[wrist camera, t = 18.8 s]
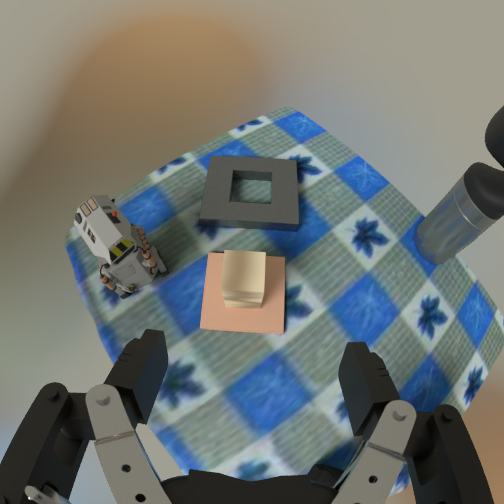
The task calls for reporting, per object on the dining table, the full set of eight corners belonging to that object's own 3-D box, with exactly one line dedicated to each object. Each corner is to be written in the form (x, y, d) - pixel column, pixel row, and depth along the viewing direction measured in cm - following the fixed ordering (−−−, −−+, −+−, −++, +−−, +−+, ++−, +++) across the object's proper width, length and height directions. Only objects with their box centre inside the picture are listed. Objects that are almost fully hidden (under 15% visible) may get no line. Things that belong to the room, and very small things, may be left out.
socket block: (294, 169, 52) (296, 160, 49) (296, 231, 46) (299, 224, 44) (212, 164, 52) (211, 155, 49) (201, 226, 46) (199, 218, 44)
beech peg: (261, 276, 42) (265, 252, 34) (260, 309, 40) (264, 292, 32) (228, 275, 42) (224, 250, 34) (225, 307, 40) (220, 289, 32)
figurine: (148, 227, 46) (117, 172, 32) (174, 282, 42) (142, 237, 28) (105, 251, 44) (61, 205, 30) (126, 308, 40) (76, 276, 26)
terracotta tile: (284, 258, 44) (285, 257, 43) (282, 334, 39) (283, 333, 38) (209, 254, 44) (208, 252, 43) (200, 328, 39) (200, 328, 38)
